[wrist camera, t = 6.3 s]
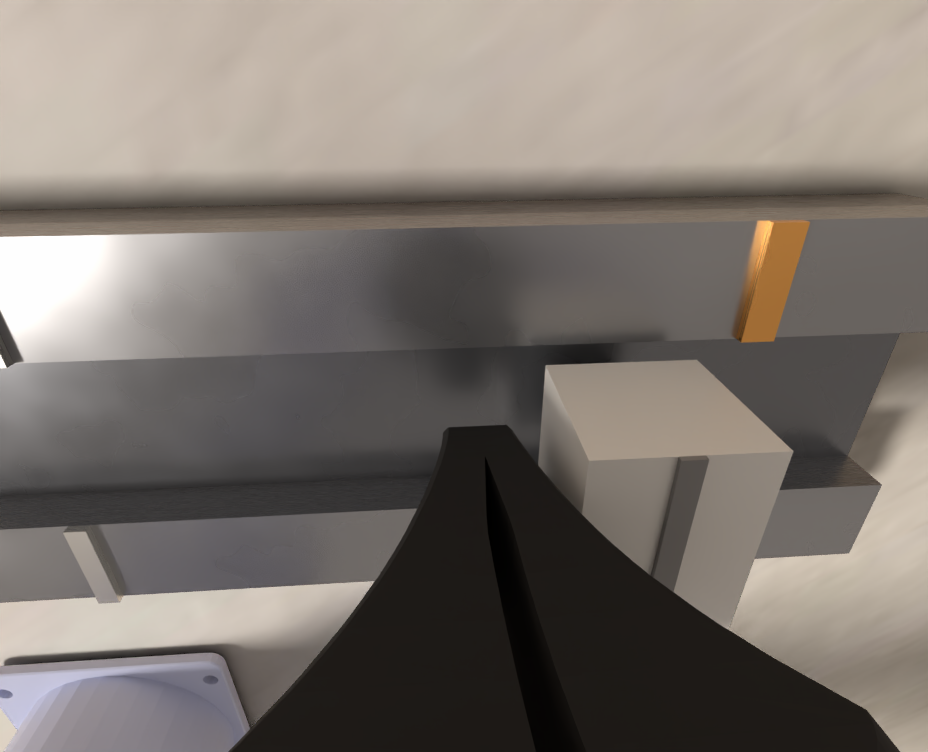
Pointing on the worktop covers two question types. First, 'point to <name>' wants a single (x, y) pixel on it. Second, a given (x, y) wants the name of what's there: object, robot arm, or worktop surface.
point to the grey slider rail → (402, 365)
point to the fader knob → (665, 471)
